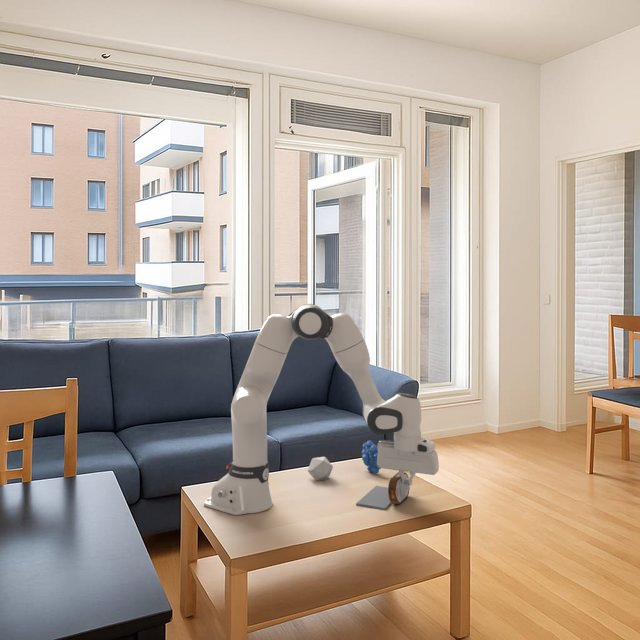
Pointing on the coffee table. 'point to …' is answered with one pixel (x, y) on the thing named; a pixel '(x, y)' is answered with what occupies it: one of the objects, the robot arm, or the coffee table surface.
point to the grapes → (370, 457)
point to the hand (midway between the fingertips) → (407, 484)
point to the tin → (397, 489)
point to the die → (320, 468)
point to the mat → (376, 498)
